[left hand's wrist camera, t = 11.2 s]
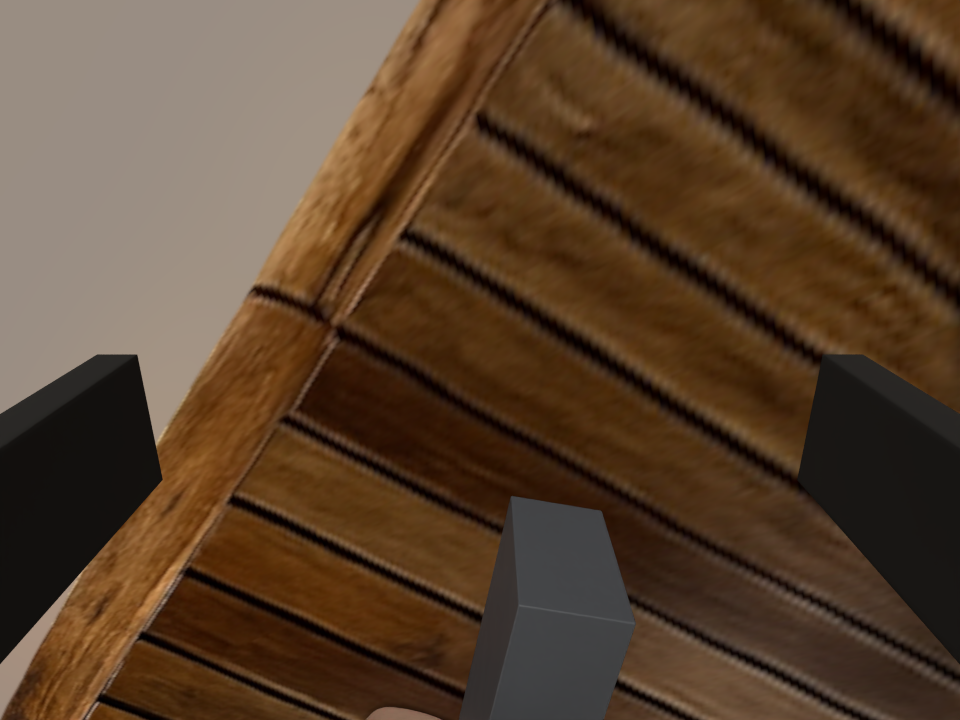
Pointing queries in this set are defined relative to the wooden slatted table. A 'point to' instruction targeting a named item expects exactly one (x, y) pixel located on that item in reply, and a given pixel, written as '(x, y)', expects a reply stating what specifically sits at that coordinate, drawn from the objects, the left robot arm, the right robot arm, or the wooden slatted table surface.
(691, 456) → the wooden slatted table surface
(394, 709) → the anatomical model
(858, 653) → the wooden slatted table surface
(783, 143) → the wooden slatted table surface
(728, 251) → the wooden slatted table surface
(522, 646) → the bar
